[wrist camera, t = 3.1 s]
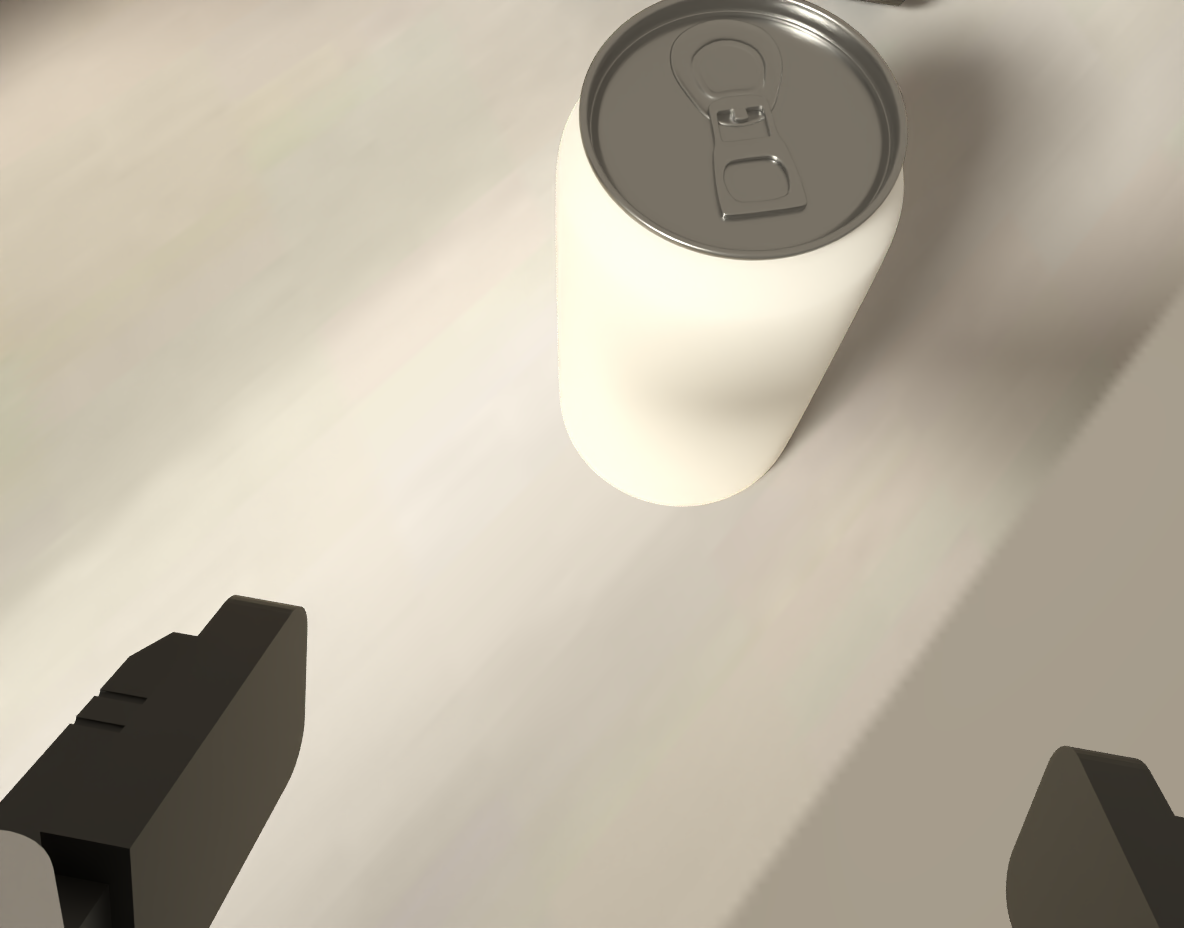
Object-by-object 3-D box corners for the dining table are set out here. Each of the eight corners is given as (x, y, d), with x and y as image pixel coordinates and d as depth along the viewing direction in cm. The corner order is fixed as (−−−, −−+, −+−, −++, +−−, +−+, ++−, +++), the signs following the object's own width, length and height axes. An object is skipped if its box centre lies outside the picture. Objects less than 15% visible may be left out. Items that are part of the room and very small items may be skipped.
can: (765, 284, 31) (880, -52, 19) (817, 493, 28) (981, 252, 17) (543, 313, 30) (528, -14, 19) (578, 528, 28) (584, 305, 17)
